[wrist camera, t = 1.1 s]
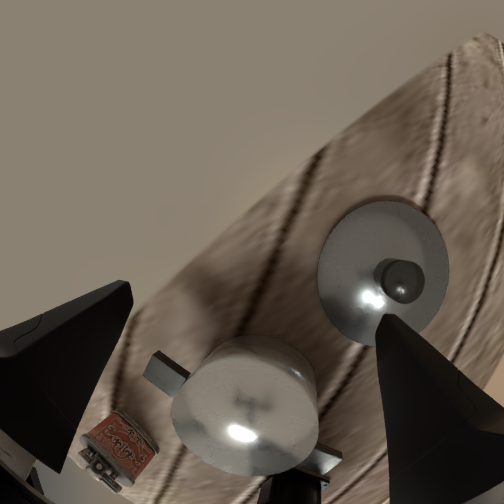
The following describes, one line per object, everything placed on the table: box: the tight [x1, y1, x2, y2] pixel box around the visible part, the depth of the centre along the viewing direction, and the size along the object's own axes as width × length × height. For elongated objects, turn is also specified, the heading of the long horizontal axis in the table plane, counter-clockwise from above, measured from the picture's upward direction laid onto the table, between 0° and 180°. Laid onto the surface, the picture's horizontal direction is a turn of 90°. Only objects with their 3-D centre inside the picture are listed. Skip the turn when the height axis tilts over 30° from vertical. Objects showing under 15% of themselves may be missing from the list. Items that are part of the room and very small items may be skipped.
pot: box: [142, 335, 343, 476], centre depth 20 cm, size 17×11×7 cm, turn 59°
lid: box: [317, 201, 449, 346], centre depth 19 cm, size 12×12×5 cm
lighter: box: [76, 408, 159, 494], centre depth 21 cm, size 8×3×10 cm, turn 41°
